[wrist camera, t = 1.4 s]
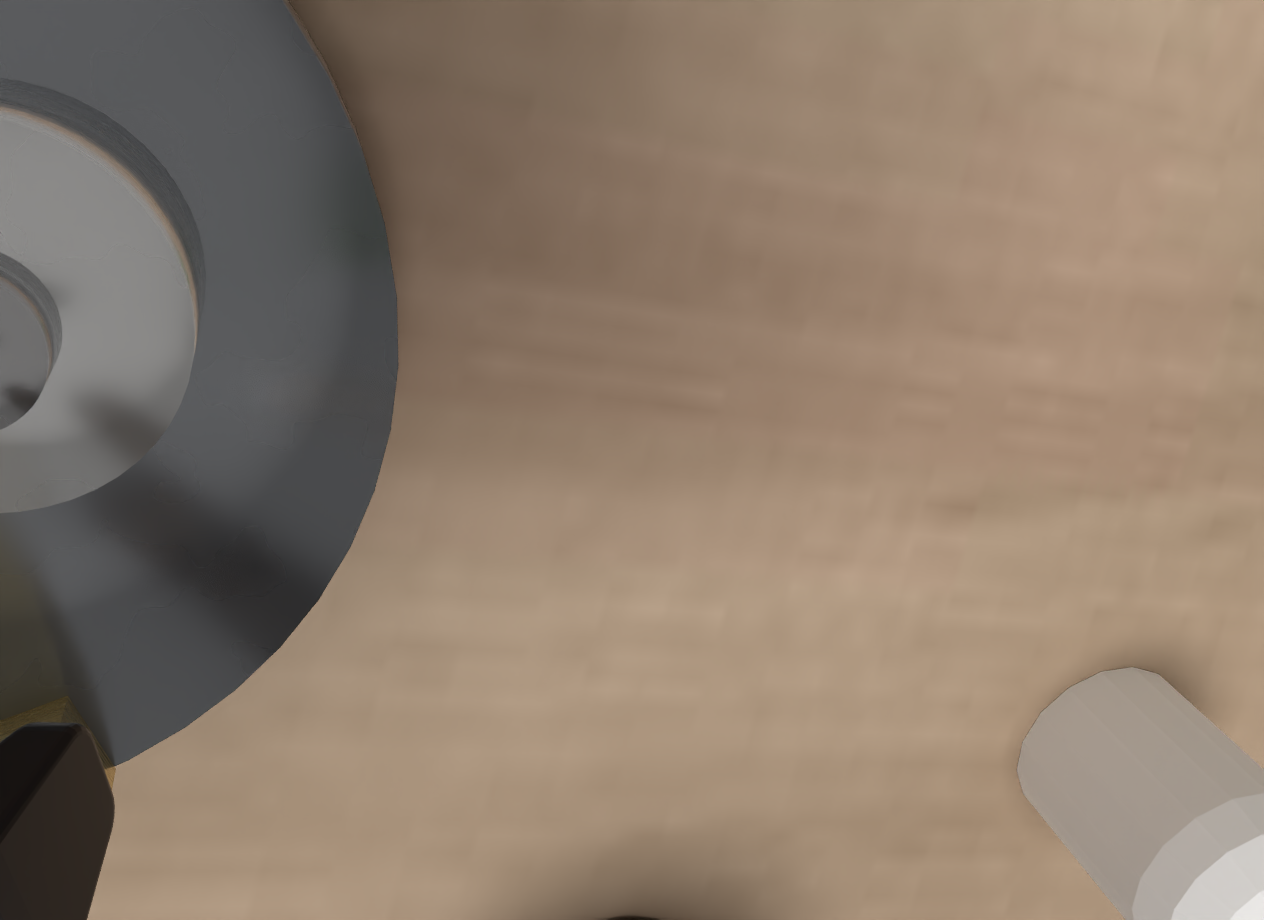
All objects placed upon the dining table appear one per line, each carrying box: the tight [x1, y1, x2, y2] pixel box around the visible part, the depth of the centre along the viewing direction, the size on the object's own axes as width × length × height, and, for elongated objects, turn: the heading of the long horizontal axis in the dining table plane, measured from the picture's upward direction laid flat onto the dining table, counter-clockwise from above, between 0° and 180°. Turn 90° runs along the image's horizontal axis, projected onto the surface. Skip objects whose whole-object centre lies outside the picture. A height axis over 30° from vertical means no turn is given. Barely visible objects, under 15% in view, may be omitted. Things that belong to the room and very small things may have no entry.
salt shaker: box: [1017, 667, 1264, 920], centre depth 31 cm, size 5×5×8 cm
